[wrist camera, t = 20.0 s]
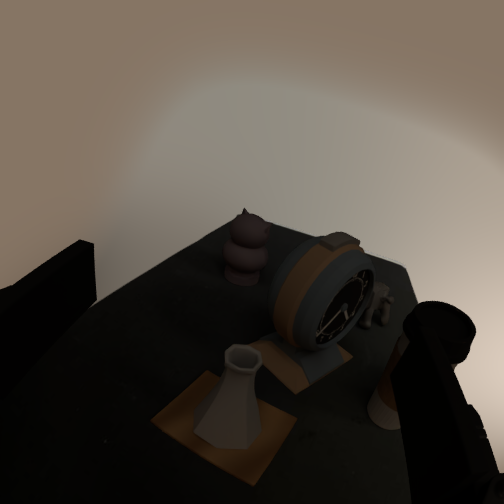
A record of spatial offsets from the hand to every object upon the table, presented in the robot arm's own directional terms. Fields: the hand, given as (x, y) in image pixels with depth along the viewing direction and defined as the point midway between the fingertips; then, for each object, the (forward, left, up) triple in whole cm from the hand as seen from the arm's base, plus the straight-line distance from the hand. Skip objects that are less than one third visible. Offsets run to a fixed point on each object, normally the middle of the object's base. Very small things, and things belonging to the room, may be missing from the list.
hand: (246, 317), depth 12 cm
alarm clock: (-1, +25, -22) cm, 33 cm away
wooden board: (-3, +9, -21) cm, 23 cm away
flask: (-3, +9, -21) cm, 23 cm away
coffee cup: (+13, +21, -22) cm, 33 cm away
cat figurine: (-18, +37, -22) cm, 47 cm away
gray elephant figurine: (+4, +39, -22) cm, 45 cm away
